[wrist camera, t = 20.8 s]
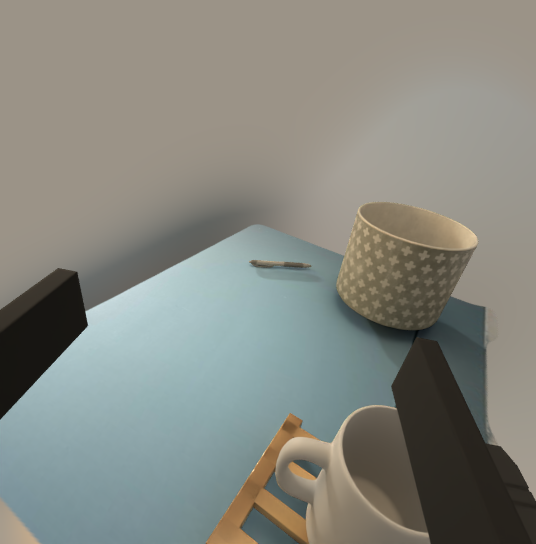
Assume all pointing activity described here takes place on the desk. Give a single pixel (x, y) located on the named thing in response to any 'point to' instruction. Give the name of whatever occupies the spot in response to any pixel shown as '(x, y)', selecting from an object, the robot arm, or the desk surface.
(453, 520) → the robot arm
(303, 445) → the mug
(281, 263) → the pen
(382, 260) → the planter
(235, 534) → the rack
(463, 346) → the desk surface
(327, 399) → the desk surface
